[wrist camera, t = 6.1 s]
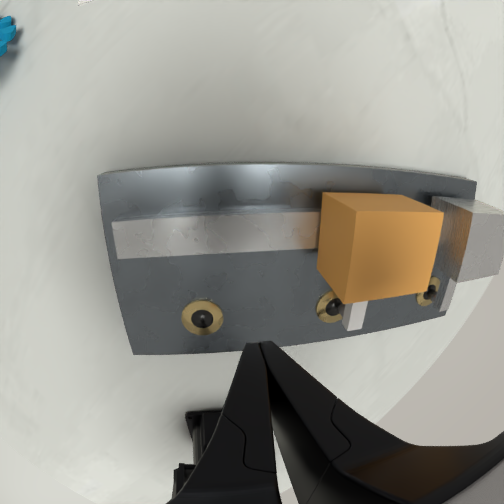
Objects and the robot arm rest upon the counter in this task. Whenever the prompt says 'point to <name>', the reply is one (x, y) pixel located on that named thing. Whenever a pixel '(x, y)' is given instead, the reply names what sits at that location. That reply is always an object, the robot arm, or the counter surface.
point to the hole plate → (267, 251)
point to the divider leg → (375, 248)
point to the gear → (6, 33)
